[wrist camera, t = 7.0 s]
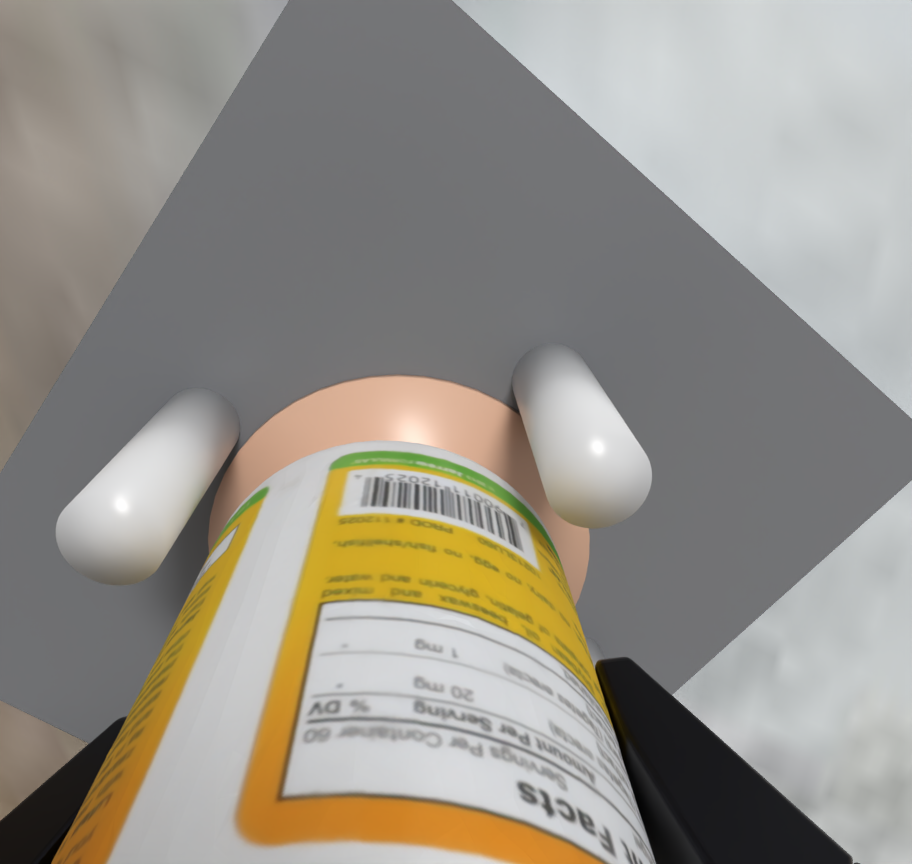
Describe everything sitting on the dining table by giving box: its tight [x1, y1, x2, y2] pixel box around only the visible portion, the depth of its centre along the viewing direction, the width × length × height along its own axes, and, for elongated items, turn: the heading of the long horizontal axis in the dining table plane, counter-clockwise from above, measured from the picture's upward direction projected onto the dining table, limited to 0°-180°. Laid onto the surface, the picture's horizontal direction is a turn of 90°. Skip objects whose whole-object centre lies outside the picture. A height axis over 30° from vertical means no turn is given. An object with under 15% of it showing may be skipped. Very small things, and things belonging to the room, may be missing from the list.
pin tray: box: [0, 0, 912, 743], centre depth 11 cm, size 14×12×4 cm
